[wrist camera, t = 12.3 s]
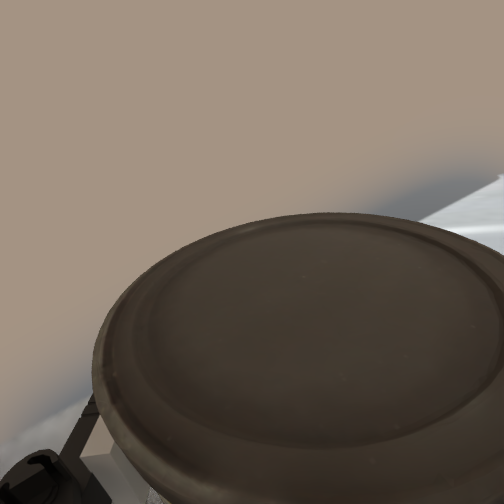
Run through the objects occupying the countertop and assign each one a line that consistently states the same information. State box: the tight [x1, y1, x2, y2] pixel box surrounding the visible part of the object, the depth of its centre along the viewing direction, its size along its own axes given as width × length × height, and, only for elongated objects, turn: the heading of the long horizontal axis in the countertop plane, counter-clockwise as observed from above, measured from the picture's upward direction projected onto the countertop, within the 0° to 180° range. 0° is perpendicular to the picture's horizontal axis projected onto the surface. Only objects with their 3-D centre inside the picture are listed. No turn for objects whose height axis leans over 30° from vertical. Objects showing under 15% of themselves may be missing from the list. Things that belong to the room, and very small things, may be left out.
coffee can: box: [92, 212, 504, 504], centre depth 10 cm, size 10×10×14 cm
